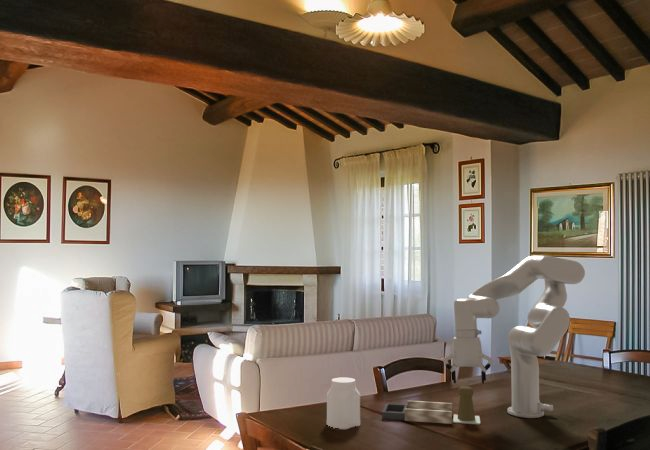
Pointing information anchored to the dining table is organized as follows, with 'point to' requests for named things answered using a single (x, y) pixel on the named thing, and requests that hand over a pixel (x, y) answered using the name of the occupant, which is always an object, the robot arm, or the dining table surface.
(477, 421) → the pad
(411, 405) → the birch lane
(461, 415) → the cork
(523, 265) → the robot arm
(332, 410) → the jar
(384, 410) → the box
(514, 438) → the dining table surface
